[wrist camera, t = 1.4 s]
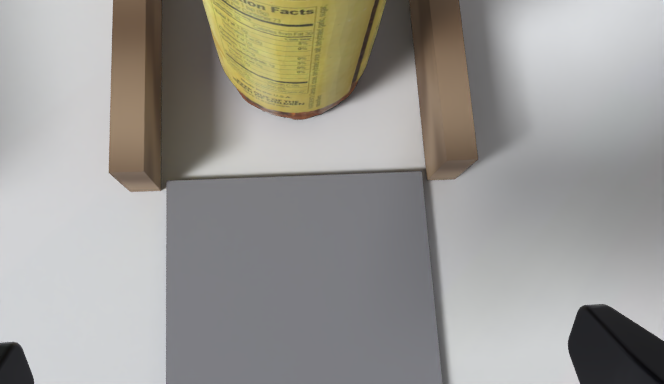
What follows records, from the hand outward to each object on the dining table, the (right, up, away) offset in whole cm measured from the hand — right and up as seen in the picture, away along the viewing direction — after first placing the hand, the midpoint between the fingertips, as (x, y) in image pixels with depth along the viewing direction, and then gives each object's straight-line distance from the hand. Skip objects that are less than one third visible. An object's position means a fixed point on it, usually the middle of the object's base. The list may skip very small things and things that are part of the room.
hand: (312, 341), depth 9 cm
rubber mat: (-1, -2, +14) cm, 14 cm away
